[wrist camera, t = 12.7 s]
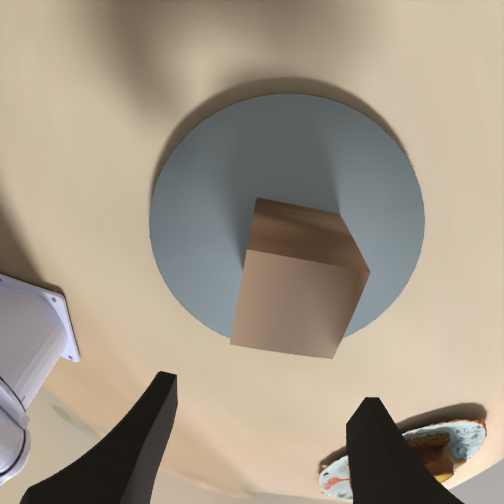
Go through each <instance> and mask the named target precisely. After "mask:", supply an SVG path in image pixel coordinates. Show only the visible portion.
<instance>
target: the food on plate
mask: <svg viewBox="0 0 504 504" xmlns="http://www.w3.org/2000/svg"><path fill="white" fill-rule="evenodd" d="M481 421H482V422H481ZM481 421H480V422H479V421H478V420H474V421H471V419H470V420H467V419H465V420H459V419H456V420H452V421H450V422H448V423H446V422H440V423H438V424H436V425H433V423H432V424H431V425H429V426H427V427H423V428H418V429H415V430H409V431H407V432H406V433H404V434H402V435H403V437H405V436H406V435H409V434H415V433H425V432H429V433H426V434H423V435H419V436H417V437H413V438H411V439H407V440H406V441H407V443H408V444H409V446H410V447H411V449H412V450H413V452H414V453H415V454H416V456H417V457H418V458H419V460H420V461H421V462H422V463H423V465H424V466H425V467H426V468H427V469H428V471H429V472H430V473H431V474H432V475H433V476H434V477H435V478H436V479H437V480H438V481H439V482H440V483H442V482H444V481H446V480H448V479H449V478H451V477H452V476H453V475H454V472H455V471H456V470H457V469H458V468H459V467H461V466H462V465H463V464H465V463H466V461H467V459H470V458H471V456H474V455H475V453H476V452H477V451H478V450H479V448H480V447H481V446H482V443H483V441H484V439H485V437H486V436H487V432H486V431H487V430H486V426H485V423H484V421H483V419H481ZM346 466H349V461H348V455H347V456H345V457H341V459H340V460H338V461H334V462H332V463H331V464H330V466H327V467H326V468H325V469H323V470H322V471H321V472H320V474H319V475H320V478H319V479H320V481H319V484H320V486H321V488H322V490H323V491H324V492H322V493H324V494H326V495H328V496H334V497H336V498H339V499H343V500H348V501H353V492H352V483H351V476H350V471H349V469H350V468H349V469H346V468H345V467H346ZM326 472H327V473H329V474H327V475H325V476H323V475H324V474H325V473H326ZM315 479H316V478H315Z"/></svg>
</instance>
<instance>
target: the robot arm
mask: <svg viewBox="0 0 504 504" xmlns="http://www.w3.org/2000/svg"><path fill="white" fill-rule="evenodd" d="M60 356H61V357H64V358H66V359H69V360H71V361H74V362H79V361H80V355H79V352H78V349H77V345H76V342H75V338H74V334H73V331H72V327H71V323H70V319H69V315H68V311H67V307H66V302H65V299H64V297H63V296H62V295H61V294H59V293H56V292H52V291H49V290H46V289H43V288H40V287H37V286H34V285H31V284H28V283H25V282H22V281H19V280H17V279H14V278H11V277H8V276H5V275H3V274H0V487H1V486H2V485H3V484H4V483H5V482H6V481H7V480H8V479H10V478H12V477H14V476H15V475H17V474H18V473H19V472H20V471H21V470H22V469H23V467H24V466H25V464H26V462H27V460H28V458H29V454H30V446H31V437H30V433H29V430H28V429H27V425H28V423H29V422H30V418H29V417H28V416H27V415H26V413H25V412H26V411H27V409H28V407H29V405H30V404H31V402H32V400H33V399H34V397H35V395H36V394H37V392H38V390H39V389H40V387H41V386H42V384H43V382H44V381H45V379H46V378H47V376H48V374H49V373H50V371H51V370H52V368H53V367H54V365H55V364H56V362H57V361H58V359H59V358H60ZM177 405H178V399H177V375H176V374H171V373H167V372H163V371H160V372H158V373H157V375H156V376H155V378H154V379H153V381H152V382H151V384H150V385H149V387H148V388H147V389H146V391H145V392H144V393H143V395H142V396H141V397H140V399H139V400H138V401H137V402H136V404H135V405H134V406H133V407H132V408H131V410H130V411H129V412H128V413H127V414H126V415H125V417H124V418H123V419H122V420H121V421H120V422H119V423H118V424H117V425H116V426H115V427H114V428H113V429H112V430H111V431H110V432H109V433H108V434H107V435H106V436H105V437H104V438H103V439H102V440H101V441H100V442H99V443H97V444H96V445H95V446H94V447H93V448H92V449H90V450H89V451H88V452H87V453H85V454H84V455H83V456H81V457H80V458H79V459H77V460H76V461H75V462H73V463H72V464H70V465H69V466H67V467H66V468H64V469H62V470H61V471H59V472H58V473H56V474H54V475H53V476H51V477H49V478H47V479H45V480H43V481H41V482H39V483H37V484H35V485H33V486H31V487H29V488H28V489H27V491H26V492H25V494H24V495H23V497H22V499H21V502H20V504H150V499H151V494H152V490H153V485H154V480H155V477H156V474H157V471H158V468H159V465H160V462H161V459H162V456H163V454H164V451H165V448H166V445H167V442H168V439H169V436H170V433H171V430H172V428H173V423H174V419H175V414H176V410H177ZM346 444H347V454H348V461H349V468H350V476H351V483H352V492H353V504H464V503H463V502H462V501H460V500H459V499H457V498H456V497H455V496H454V495H453V494H451V493H450V492H449V491H448V490H447V489H446V488H445V487H444V486H443V485H442V484H441V483H440V482H439V481H438V480H437V479H436V478H435V477H434V476H433V475H432V474H431V473H430V472H429V471H428V469H427V468H426V467H425V466H424V465H423V463H422V462H421V461H420V460H419V458H418V457H417V456H416V454H415V453H414V452H413V450H412V449H411V447H410V446H409V444H408V443H407V441H406V440H405V438H404V437H403V435H402V434H401V432H400V431H399V429H398V428H397V426H396V424H395V423H394V421H393V419H392V418H391V416H390V415H389V413H388V411H387V410H386V408H385V407H384V405H383V403H382V402H381V400H380V399H379V397H365V399H364V400H363V402H362V403H361V404H360V406H359V407H358V409H357V410H356V412H355V413H354V414H353V416H352V417H351V418H350V420H349V421H348V422H347V424H346Z"/></svg>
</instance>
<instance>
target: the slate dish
mask: <svg viewBox="0 0 504 504" xmlns="http://www.w3.org/2000/svg"><path fill="white" fill-rule="evenodd" d="M257 197H258V198H263V199H269V200H274V201H279V202H284V203H289V204H294V205H299V206H304V207H309V208H314V209H319V210H323V211H328V212H332V213H337V214H340V215H341V217H342V218H343V220H344V222H345V224H346V226H347V227H348V229H349V231H350V233H351V235H352V237H353V239H354V240H355V242H356V244H357V246H358V248H359V250H360V252H361V254H362V256H363V258H364V260H365V262H366V264H367V266H368V268H369V270H370V272H371V273H370V275H369V278H368V281H367V283H366V285H365V288H364V290H363V293H362V295H361V298H360V300H359V302H358V305H357V307H356V309H355V312H354V314H353V316H352V318H351V321H350V323H349V325H348V327H347V329H346V332H345V334H344V336H343V338H344V337H347V336H349V335H351V334H353V333H355V332H357V331H358V330H360V329H362V328H364V327H365V326H367V325H368V324H369V323H371V322H372V321H374V320H375V319H376V318H378V317H379V316H380V315H381V314H382V313H383V312H384V311H385V310H386V309H387V308H389V306H390V305H391V304H392V303H393V302H394V301H395V300H396V298H397V297H398V296H399V295H400V293H401V292H402V290H403V289H404V287H405V286H406V284H407V283H408V281H409V279H410V277H411V275H412V273H413V271H414V269H415V267H416V264H417V261H418V258H419V255H420V252H421V247H422V243H423V238H424V225H425V216H424V203H423V199H422V194H421V190H420V186H419V183H418V180H417V178H416V175H415V172H414V170H413V168H412V166H411V164H410V163H409V161H408V159H407V157H406V155H405V154H404V152H403V151H402V150H401V148H400V147H399V146H398V145H397V143H396V142H395V141H394V139H393V138H392V137H391V136H390V135H389V134H388V133H387V132H386V131H384V130H383V129H382V128H381V127H380V126H379V125H378V124H377V123H375V122H374V121H372V120H371V119H370V118H368V117H367V116H365V115H364V114H362V113H360V112H359V111H357V110H355V109H353V108H351V107H348V106H346V105H344V104H342V103H339V102H336V101H333V100H330V99H326V98H323V97H318V96H312V95H305V94H273V95H265V96H258V97H255V98H251V99H248V100H244V101H241V102H238V103H235V104H233V105H231V106H229V107H226V108H224V109H222V110H220V111H218V112H216V113H215V114H213V115H212V116H210V117H209V118H207V119H206V120H204V121H203V122H201V123H200V124H199V125H197V126H196V127H195V128H194V129H193V130H192V131H191V132H190V133H188V134H187V135H186V136H185V137H184V138H183V140H182V141H181V142H180V143H179V144H178V146H177V147H176V148H175V149H174V150H173V152H172V153H171V155H170V156H169V158H168V160H167V161H166V163H165V165H164V166H163V168H162V170H161V173H160V175H159V178H158V180H157V182H156V185H155V189H154V193H153V197H152V201H151V207H150V217H149V226H150V239H151V245H152V250H153V254H154V257H155V260H156V263H157V266H158V269H159V271H160V273H161V275H162V277H163V279H164V281H165V283H166V285H167V286H168V288H169V289H170V291H171V292H172V294H173V295H174V296H175V298H176V299H177V300H178V301H179V302H180V304H181V305H182V306H183V307H184V308H185V309H186V310H187V311H188V312H189V313H190V314H191V315H193V316H194V317H195V318H196V319H197V320H199V321H200V322H201V323H203V324H204V325H206V326H207V327H209V328H210V329H212V330H214V331H216V332H217V333H219V334H221V335H223V336H226V337H228V338H230V339H231V334H232V329H233V323H234V318H235V312H236V307H237V301H238V296H239V290H240V285H241V279H242V274H243V268H244V263H245V257H246V252H247V246H248V241H249V236H250V230H251V225H252V219H253V214H254V209H255V203H256V198H257Z"/></svg>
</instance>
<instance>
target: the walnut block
mask: <svg viewBox="0 0 504 504" xmlns="http://www.w3.org/2000/svg"><path fill="white" fill-rule="evenodd" d="M370 273H371V272H370V270H369V268H368V266H367V264H366V262H365V260H364V258H363V256H362V254H361V252H360V250H359V248H358V246H357V244H356V242H355V240H354V239H353V237H352V235H351V233H350V231H349V229H348V227H347V226H346V224H345V222H344V220H343V218H342V217H341V215H340V214H337V213H332V212H328V211H323V210H319V209H314V208H309V207H304V206H299V205H294V204H289V203H284V202H279V201H274V200H269V199H263V198H258V197H257V198H256V203H255V209H254V214H253V219H252V225H251V230H250V236H249V241H248V246H247V252H246V257H245V263H244V268H243V274H242V279H241V285H240V290H239V296H238V301H237V307H236V312H235V318H234V323H233V329H232V334H231V340H230V344H232V345H237V346H243V347H249V348H255V349H261V350H267V351H274V352H281V353H288V354H295V355H303V356H311V357H320V358H329V359H333V357H334V355H335V353H336V351H337V349H338V346H339V344H340V342H341V340H342V338H343V336H344V334H345V332H346V329H347V327H348V325H349V323H350V321H351V318H352V316H353V314H354V312H355V309H356V307H357V305H358V302H359V300H360V298H361V295H362V293H363V290H364V288H365V285H366V283H367V281H368V278H369V275H370Z"/></svg>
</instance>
